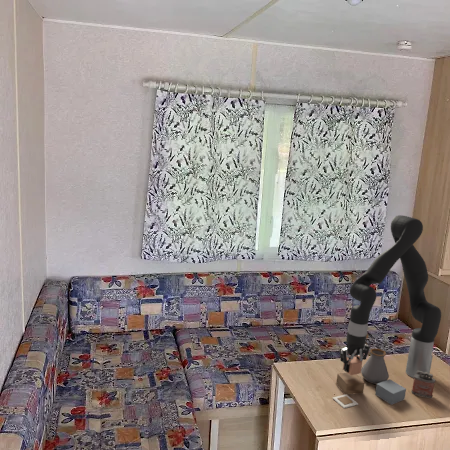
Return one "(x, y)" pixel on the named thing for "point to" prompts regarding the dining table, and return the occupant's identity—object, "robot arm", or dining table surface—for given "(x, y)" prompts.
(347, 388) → the walnut block
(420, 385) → the lighter
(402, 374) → the dining table surface
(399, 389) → the slate block
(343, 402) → the white square frame
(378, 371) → the coffee pot
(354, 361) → the terracotta cube
